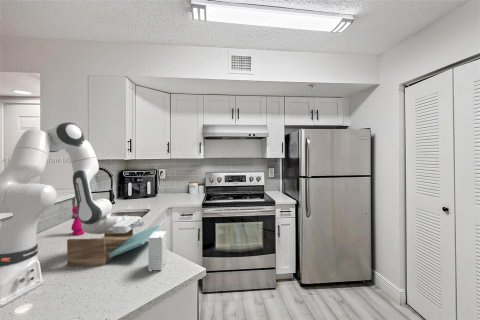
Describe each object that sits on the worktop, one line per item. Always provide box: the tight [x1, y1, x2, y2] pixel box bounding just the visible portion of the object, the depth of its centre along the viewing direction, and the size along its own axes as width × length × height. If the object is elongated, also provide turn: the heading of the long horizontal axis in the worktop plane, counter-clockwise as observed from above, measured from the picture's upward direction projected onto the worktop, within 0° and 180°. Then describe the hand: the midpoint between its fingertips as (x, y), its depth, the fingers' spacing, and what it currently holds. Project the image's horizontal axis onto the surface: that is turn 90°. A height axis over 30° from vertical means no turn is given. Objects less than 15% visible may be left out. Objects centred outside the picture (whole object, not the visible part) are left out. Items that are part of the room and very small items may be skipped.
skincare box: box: [147, 230, 167, 270], centre depth 100 cm, size 8×6×15 cm
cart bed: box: [66, 228, 134, 267], centre depth 117 cm, size 32×16×12 cm, turn 4°
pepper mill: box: [71, 203, 85, 237], centre depth 145 cm, size 7×7×20 cm
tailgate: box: [108, 224, 161, 258], centre depth 118 cm, size 28×2×16 cm
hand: (143, 223), depth 118 cm, fingers closed
